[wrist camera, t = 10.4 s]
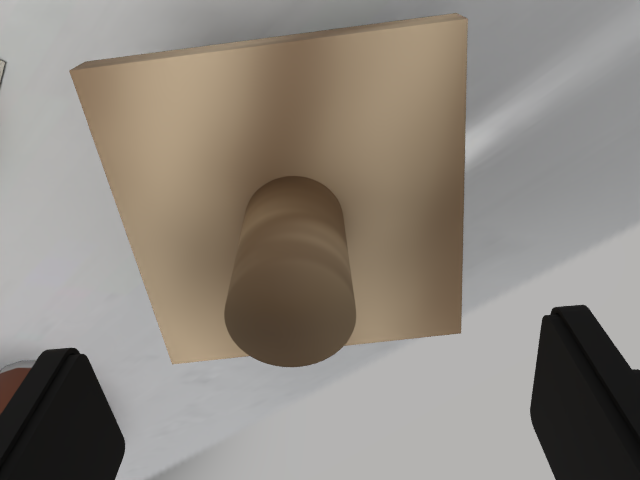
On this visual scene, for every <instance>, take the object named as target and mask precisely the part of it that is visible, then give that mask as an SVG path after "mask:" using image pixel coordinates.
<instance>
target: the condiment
mask: <svg viewBox="0 0 640 480" xmlns="http://www.w3.org/2000/svg"><path fill="white" fill-rule="evenodd" d="M4 65H5V62H3V61H1V60H0V81H1V76H2V72H3V69H4Z"/></svg>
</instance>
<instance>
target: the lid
mask: <svg viewBox="0 0 640 480" xmlns="http://www.w3.org/2000/svg"><path fill="white" fill-rule="evenodd" d="M467 24H468V19H467V18H465V17H463V16H461V15H459V14H457V13H453V14H446V15H438V16H431V17H423V18H415V19H408V20H400V21H392V22H385V23H377V24H369V25H362V26H354V27H347V28H339V29H331V30H324V31H316V32H308V33H301V34H293V35H286V36H278V37H270V38H263V39H255V40H247V41H240V42H232V43H224V44H217V45H209V46H202V47H194V48H186V49H179V50H171V51H163V52H156V53H148V54H141V55H133V56H125V57H118V58H110V59H102V60H95V61H87V62H84V63H82V64H80V65H78V66H77V67H75V68H73V69H71V70H70V74H71V77H72V80H73V82H74V85H75V88H76V91H77V94H78V97H79V100H80V102H81V105H82V108H83V111H84V114H85V117H86V120H87V122H88V125H89V128H90V131H91V134H92V137H93V140H94V142H95V145H96V148H97V151H98V154H99V157H100V159H101V162H102V165H103V168H104V171H105V174H106V177H107V179H108V182H109V185H110V188H111V191H112V194H113V197H114V199H115V202H116V205H117V208H118V211H119V214H120V217H121V219H122V222H123V225H124V228H125V231H126V234H127V236H128V239H129V242H130V245H131V248H132V251H133V254H134V256H135V259H136V262H137V265H138V268H139V271H140V274H141V276H142V279H143V282H144V285H145V288H146V291H147V294H148V296H149V299H150V302H151V305H152V308H153V311H154V314H155V316H156V319H157V322H158V325H159V328H160V331H161V333H162V336H163V339H164V342H165V345H166V348H167V351H168V353H169V356H170V359H171V362H172V364H179V363H189V362H198V361H207V360H217V359H226V358H235V357H245V356H251V357H253V358H255V359H257V360H259V361H261V362H264V363H267V364H271V365H275V366H281V367H301V366H307V365H311V364H315V363H318V362H320V361H323V360H325V359H327V358H329V357H331V356H332V355H334V354H335V353H336V352H338V351H339V350H340V349H341V348H342V347H343V346H347V345H356V344H365V343H375V342H384V341H393V340H403V339H412V338H421V337H431V336H439V335H449V334H458V333H461V311H462V264H463V216H464V168H465V120H466V72H467Z"/></svg>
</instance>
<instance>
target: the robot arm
mask: <svg viewBox="0 0 640 480" xmlns="http://www.w3.org/2000/svg"><path fill="white" fill-rule="evenodd" d="M530 414H531V420H532V424H533V427H534V429H535V432H536V434H537V437H538V439H539V441H540V444H541V446H542V448H543V450H544V453H545V455H546V458H547V460H548V462H549V465H550V467H551V469H552V472H553V474H554V477H555V479H556V480H640V370H638V369H637V370H632V369H631V368H630V366H629V365H628V363H627V362H626V361H625V359H624V358H623V356H622V355H621V354H620V352H619V351H618V349H617V348H616V347H615V346H614V344H613V342H612V341H611V339H610V338H609V337H608V335H607V334H606V332H605V331H604V330H603V328H602V327H601V325H600V324H599V322H598V321H597V319H596V318H595V317H594V315H593V314H592V312H591V311H590V310H589V308H588V307H587V306H585V305H575V306H563V307H555V308H553V309H552V311H551V315H545V316H544V317H543V319H542V325H541V332H540V339H539V347H538V355H537V362H536V370H535V377H534V384H533V392H532V400H531V407H530ZM124 452H125V440H124V437H123V435H122V433H121V430H120V428H119V426H118V424H117V422H116V419H115V417H114V415H113V413H112V411H111V408H110V406H109V404H108V402H107V399H106V397H105V395H104V393H103V391H102V388H101V386H100V384H99V382H98V380H97V377H96V375H95V373H94V371H93V368H92V366H91V364H90V362H89V360H88V358H87V356H86V355H84V354H80V353H79V351H78V350H77V349H75V348H63V349H51V350H46V351H44V352H42V354H41V355H40V356H39V357H38V359H37V360H36V362H35V363H34V365H33V366H32V368H31V369H30V371H29V372H28V374H27V375H26V377H25V378H24V380H23V381H22V383H21V384H20V386H19V387H18V389H17V390H16V392H15V393H14V395H13V396H12V398H11V400H10V401H9V403H8V404H7V406H6V407H5V409H4V410H3V412H2V413H1V415H0V480H115V478H116V475H117V472H118V470H119V467H120V464H121V462H122V459H123V456H124Z"/></svg>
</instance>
